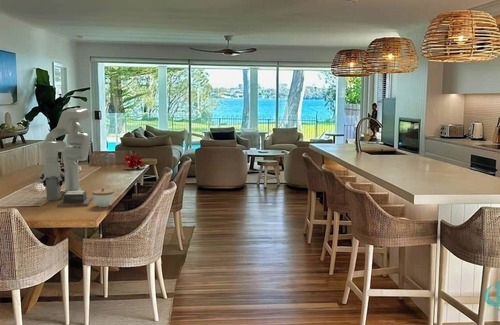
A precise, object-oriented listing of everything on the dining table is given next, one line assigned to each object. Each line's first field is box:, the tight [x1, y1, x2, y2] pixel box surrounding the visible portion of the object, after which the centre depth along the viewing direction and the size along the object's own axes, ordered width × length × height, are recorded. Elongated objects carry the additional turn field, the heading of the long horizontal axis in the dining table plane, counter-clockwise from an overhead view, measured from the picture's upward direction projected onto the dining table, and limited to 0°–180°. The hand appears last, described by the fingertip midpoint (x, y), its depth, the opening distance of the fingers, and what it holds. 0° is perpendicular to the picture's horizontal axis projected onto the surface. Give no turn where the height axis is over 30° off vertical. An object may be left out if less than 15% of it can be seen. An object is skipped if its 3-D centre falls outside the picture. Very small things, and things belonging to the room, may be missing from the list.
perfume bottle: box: [45, 176, 62, 201], centre depth 316 cm, size 7×7×18 cm
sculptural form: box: [122, 150, 147, 170], centre depth 453 cm, size 20×24×21 cm
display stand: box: [56, 190, 93, 208], centre depth 305 cm, size 20×18×7 cm
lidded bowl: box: [92, 187, 114, 208], centre depth 298 cm, size 13×13×11 cm
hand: (52, 186), depth 316 cm, fingers open, 9 cm apart
